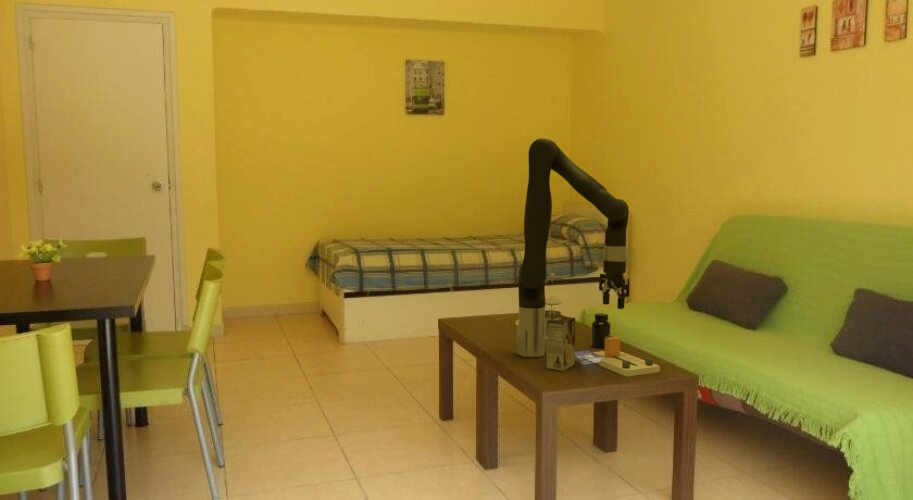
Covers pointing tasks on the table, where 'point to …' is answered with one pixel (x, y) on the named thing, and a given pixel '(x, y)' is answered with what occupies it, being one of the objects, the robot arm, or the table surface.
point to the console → (628, 364)
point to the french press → (549, 313)
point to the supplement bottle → (600, 330)
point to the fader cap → (612, 346)
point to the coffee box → (560, 343)
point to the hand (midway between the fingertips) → (613, 306)
